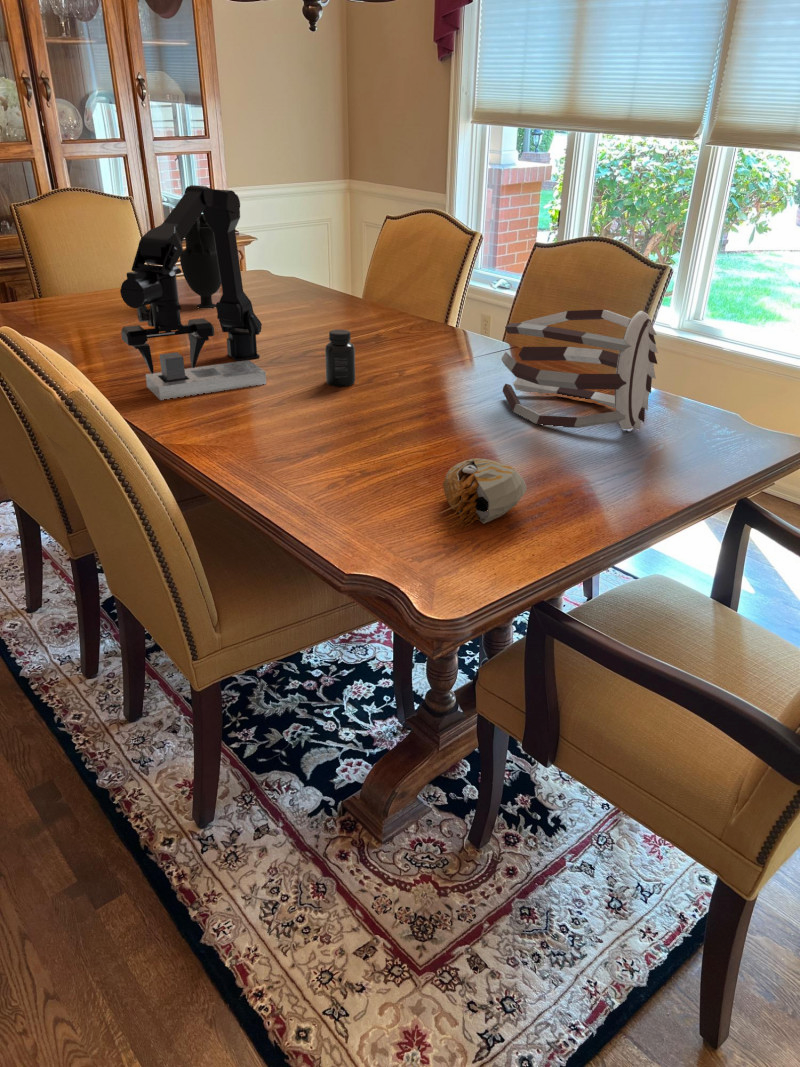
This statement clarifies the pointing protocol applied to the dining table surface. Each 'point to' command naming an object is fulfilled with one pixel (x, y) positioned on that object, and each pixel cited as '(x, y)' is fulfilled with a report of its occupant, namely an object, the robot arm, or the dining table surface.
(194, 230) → the urn
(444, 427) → the dining table surface
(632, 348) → the decorative basket
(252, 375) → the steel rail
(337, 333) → the supplement bottle
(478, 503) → the nautilus
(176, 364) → the graphite block
